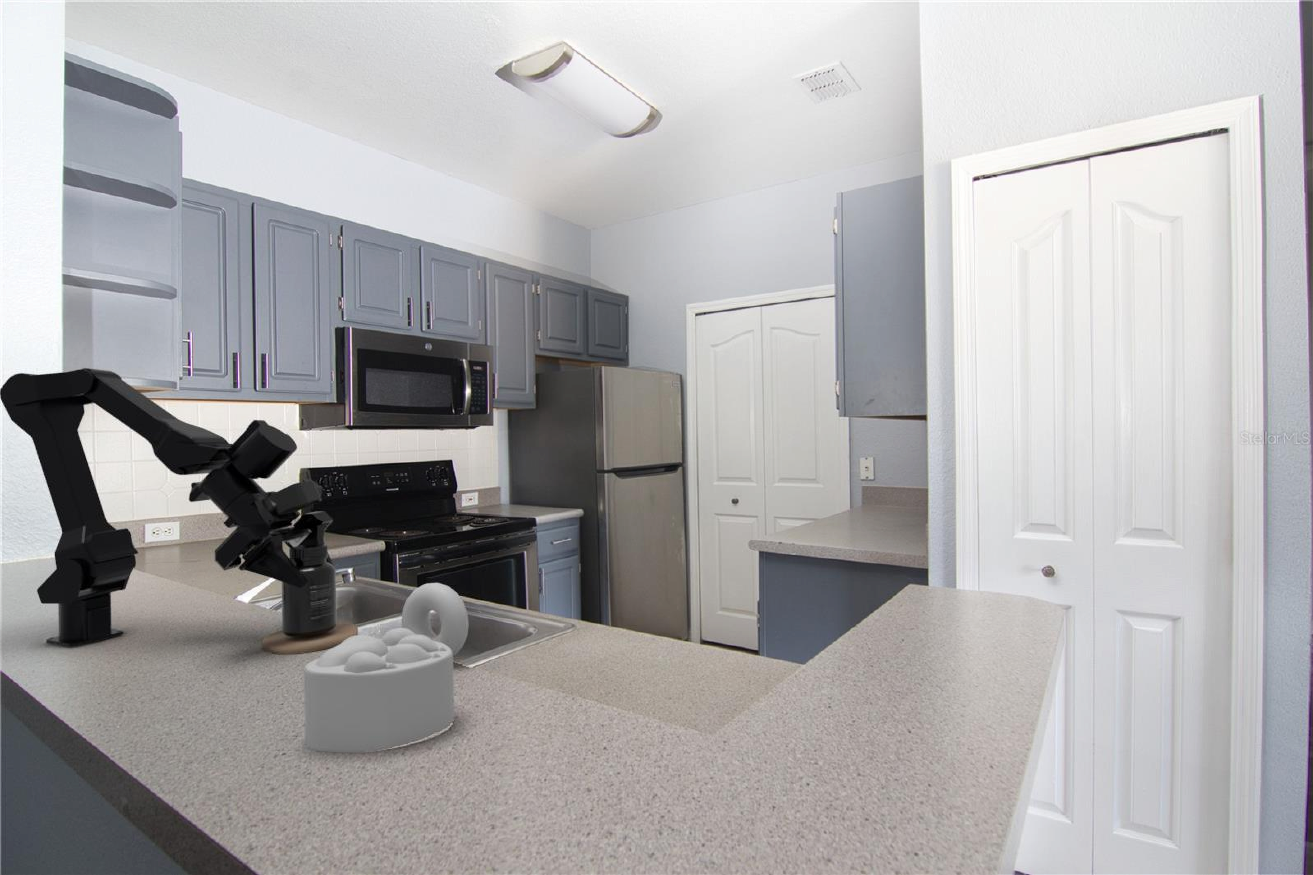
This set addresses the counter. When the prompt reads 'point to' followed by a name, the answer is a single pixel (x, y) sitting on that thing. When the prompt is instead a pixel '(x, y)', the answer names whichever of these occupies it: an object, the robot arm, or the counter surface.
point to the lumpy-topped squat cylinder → (378, 692)
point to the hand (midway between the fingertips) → (319, 579)
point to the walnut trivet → (308, 640)
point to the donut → (447, 610)
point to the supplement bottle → (310, 594)
